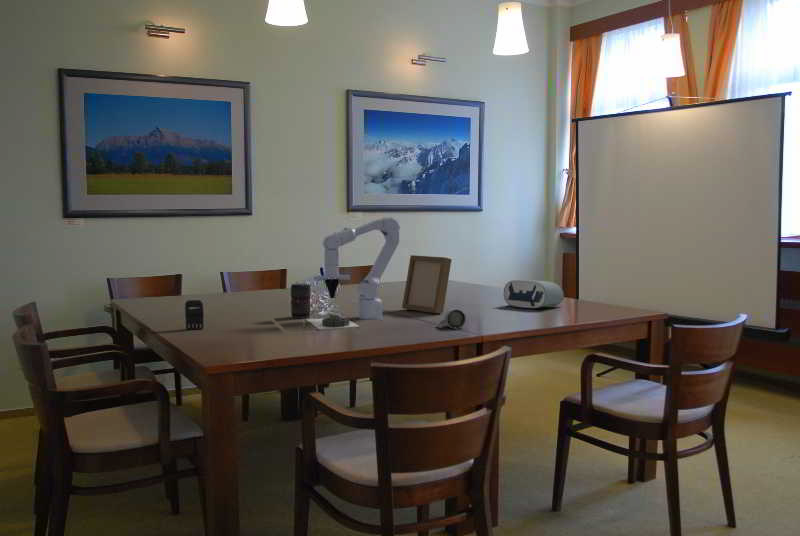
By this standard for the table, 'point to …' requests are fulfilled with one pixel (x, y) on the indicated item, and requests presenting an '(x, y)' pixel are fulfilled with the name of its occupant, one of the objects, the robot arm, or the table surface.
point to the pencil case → (532, 294)
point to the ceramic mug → (453, 319)
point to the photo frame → (426, 283)
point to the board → (333, 324)
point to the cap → (335, 317)
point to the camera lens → (300, 301)
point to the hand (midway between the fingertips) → (332, 297)
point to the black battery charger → (194, 314)
